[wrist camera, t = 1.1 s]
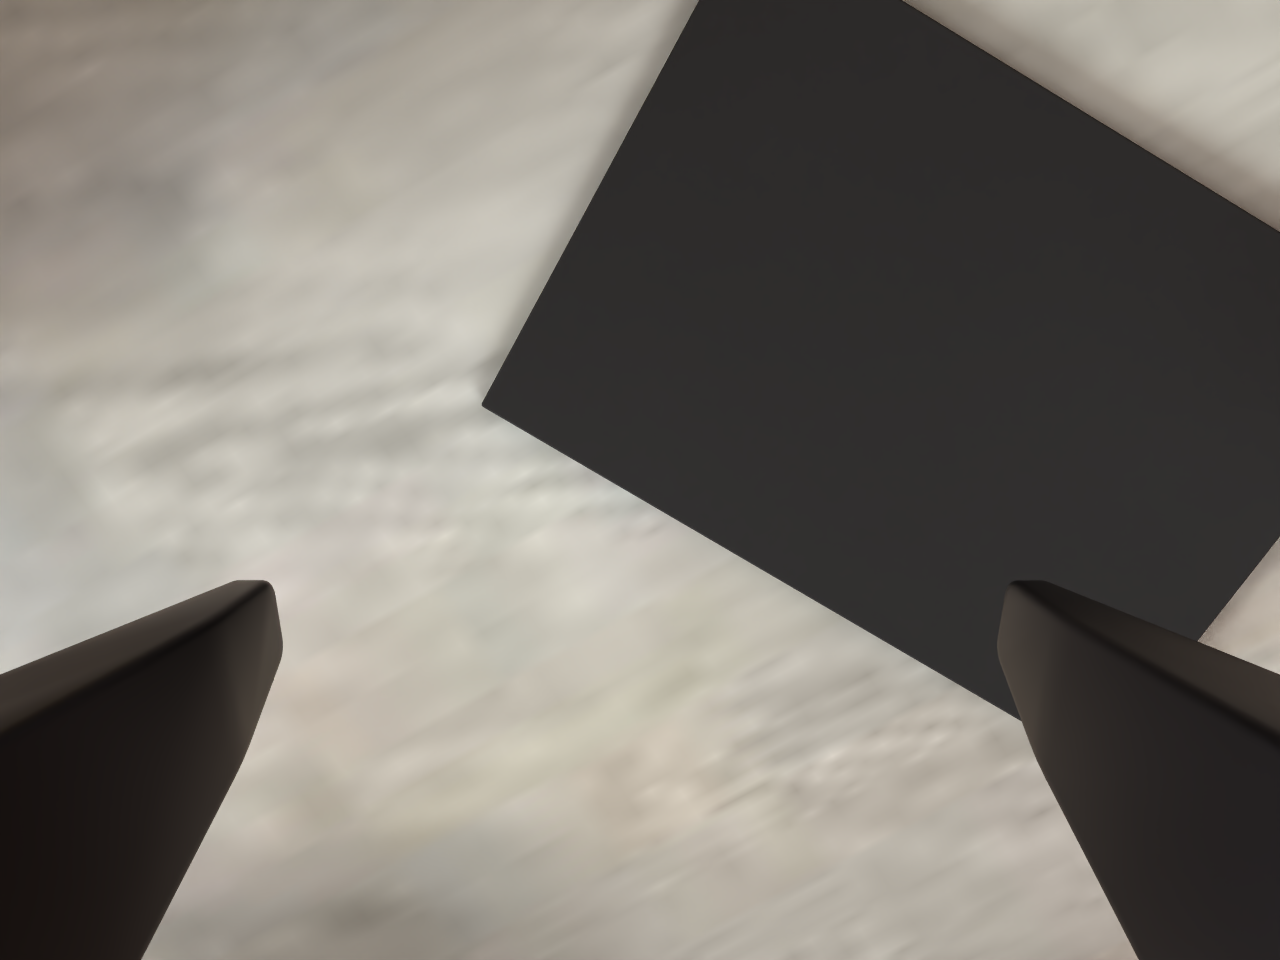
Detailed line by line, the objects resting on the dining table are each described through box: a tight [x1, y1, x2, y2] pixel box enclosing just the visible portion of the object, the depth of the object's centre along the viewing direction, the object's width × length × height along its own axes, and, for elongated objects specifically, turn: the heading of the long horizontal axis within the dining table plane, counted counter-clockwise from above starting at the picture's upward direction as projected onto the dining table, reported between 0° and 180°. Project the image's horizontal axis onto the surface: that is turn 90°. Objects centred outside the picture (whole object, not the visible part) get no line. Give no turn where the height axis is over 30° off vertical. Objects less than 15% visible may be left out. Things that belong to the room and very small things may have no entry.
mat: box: [482, 0, 1280, 721], centre depth 24 cm, size 14×20×1 cm
